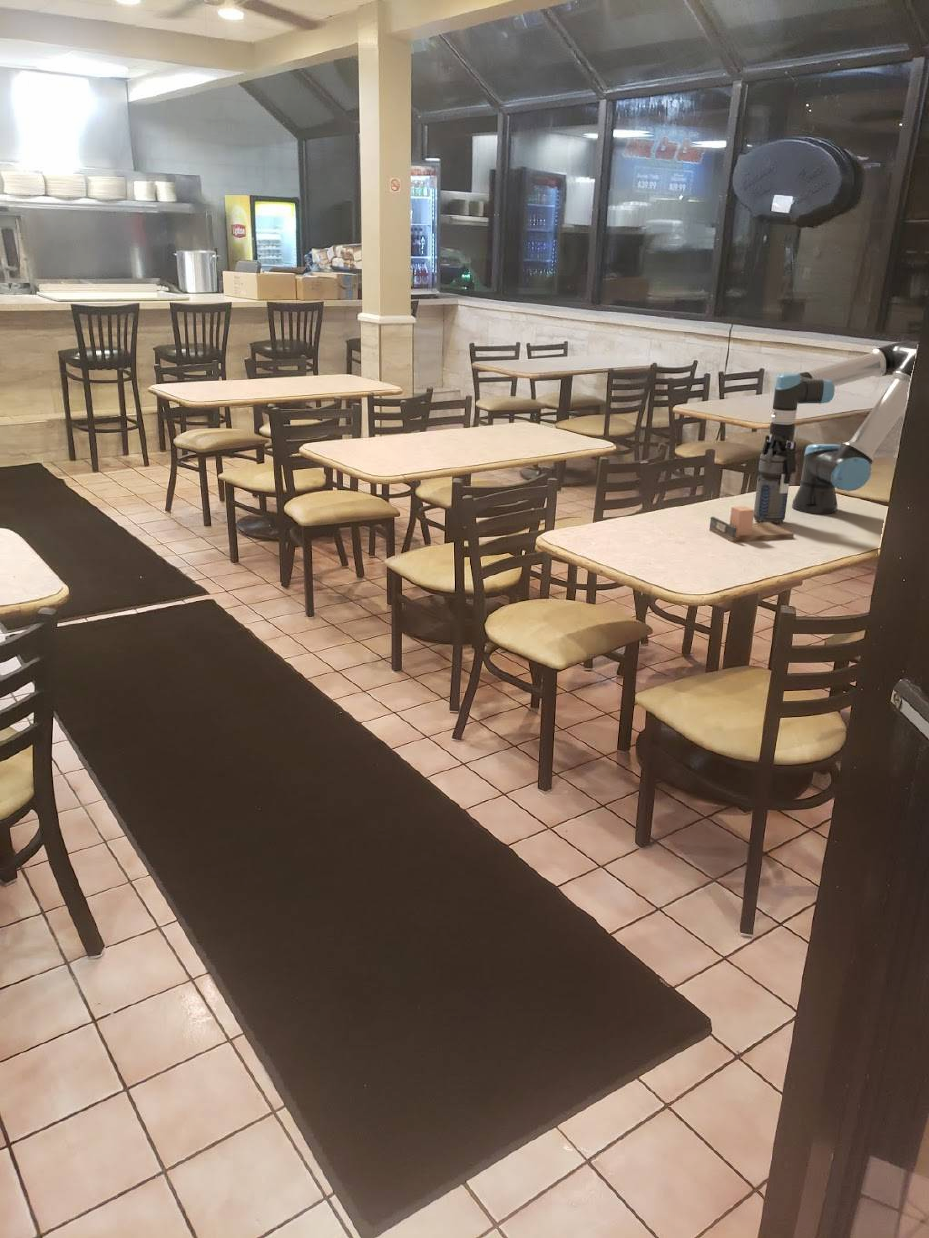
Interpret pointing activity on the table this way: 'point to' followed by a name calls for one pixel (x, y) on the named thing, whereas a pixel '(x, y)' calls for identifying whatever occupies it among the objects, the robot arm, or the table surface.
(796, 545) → the table surface
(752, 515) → the carton block
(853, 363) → the robot arm
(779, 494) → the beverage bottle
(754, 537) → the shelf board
